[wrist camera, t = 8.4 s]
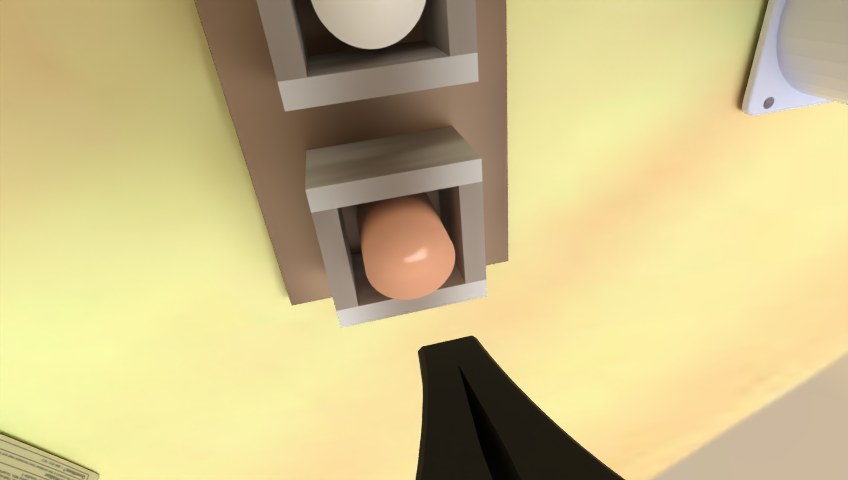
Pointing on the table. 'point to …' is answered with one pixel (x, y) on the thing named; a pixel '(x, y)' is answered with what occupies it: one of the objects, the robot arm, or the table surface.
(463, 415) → the robot arm
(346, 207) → the board
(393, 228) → the terracotta plug
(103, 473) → the table surface
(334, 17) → the plug
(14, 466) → the skincare box
